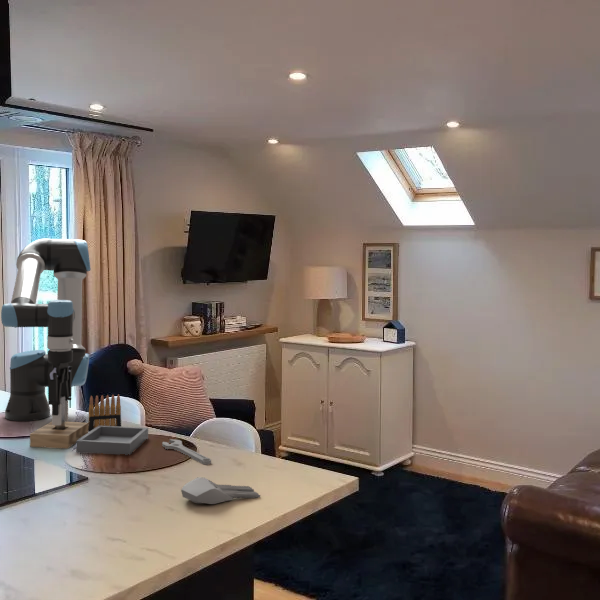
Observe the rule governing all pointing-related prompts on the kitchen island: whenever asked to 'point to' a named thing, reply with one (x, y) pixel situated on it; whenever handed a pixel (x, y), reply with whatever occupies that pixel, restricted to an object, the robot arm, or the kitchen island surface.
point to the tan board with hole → (58, 435)
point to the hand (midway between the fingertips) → (60, 422)
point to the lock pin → (62, 415)
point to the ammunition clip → (104, 413)
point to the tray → (112, 440)
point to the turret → (214, 491)
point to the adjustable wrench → (186, 451)
